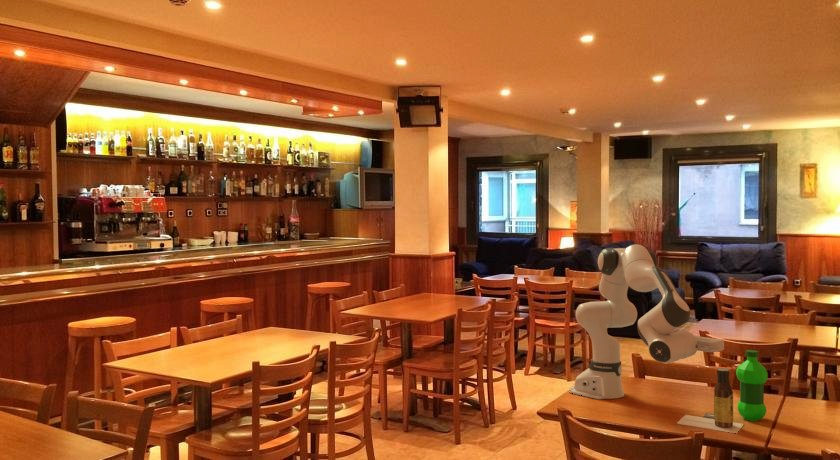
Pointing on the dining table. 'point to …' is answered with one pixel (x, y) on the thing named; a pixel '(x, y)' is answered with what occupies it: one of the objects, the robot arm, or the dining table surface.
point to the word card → (709, 415)
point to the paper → (708, 424)
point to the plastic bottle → (751, 387)
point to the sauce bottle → (723, 400)
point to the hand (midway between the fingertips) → (702, 339)
